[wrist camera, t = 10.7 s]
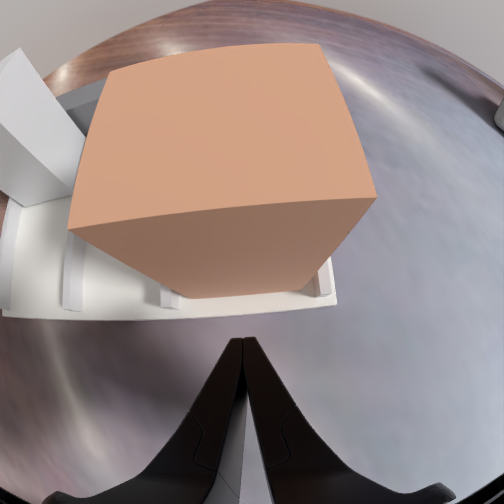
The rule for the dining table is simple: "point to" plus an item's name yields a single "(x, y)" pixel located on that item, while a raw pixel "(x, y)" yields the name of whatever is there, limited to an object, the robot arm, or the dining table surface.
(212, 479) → the robot arm
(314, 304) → the base
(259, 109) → the tall tan brick
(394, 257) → the dining table surface
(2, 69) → the tall white block
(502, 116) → the digital clock
